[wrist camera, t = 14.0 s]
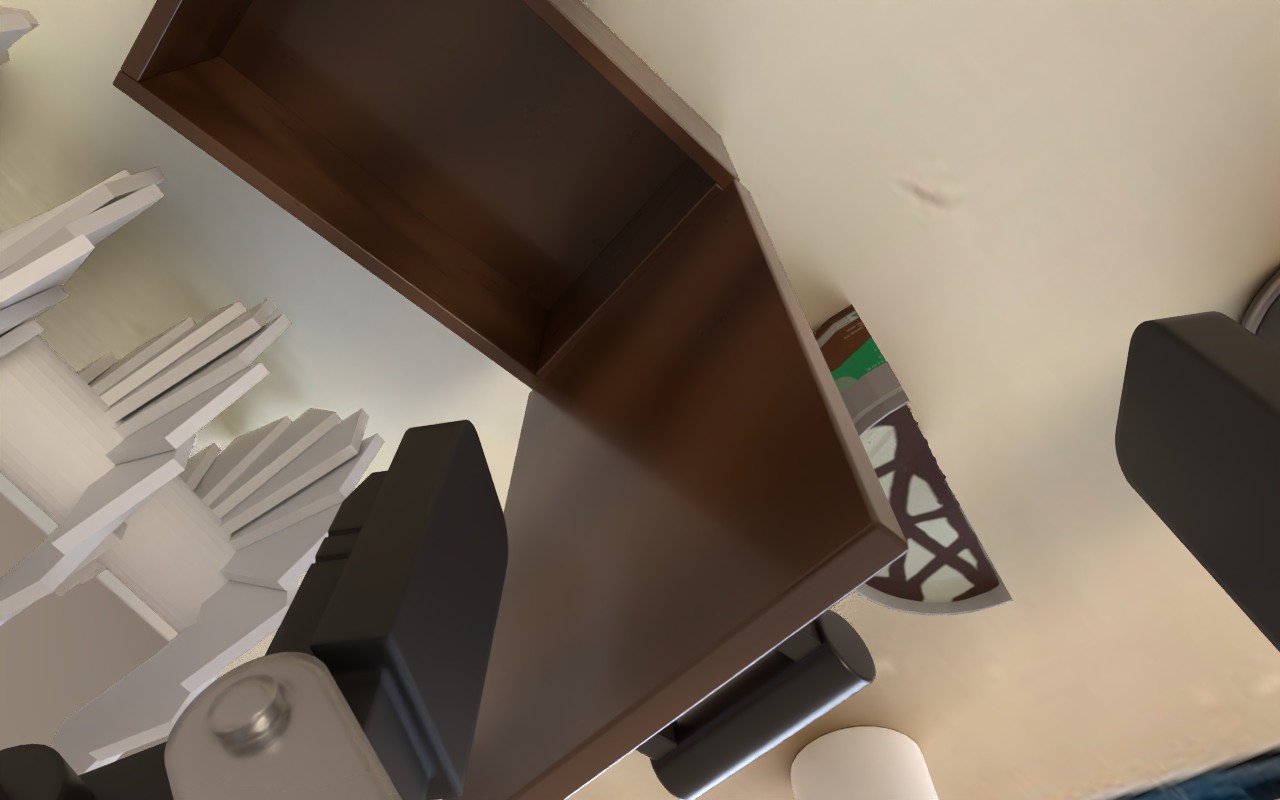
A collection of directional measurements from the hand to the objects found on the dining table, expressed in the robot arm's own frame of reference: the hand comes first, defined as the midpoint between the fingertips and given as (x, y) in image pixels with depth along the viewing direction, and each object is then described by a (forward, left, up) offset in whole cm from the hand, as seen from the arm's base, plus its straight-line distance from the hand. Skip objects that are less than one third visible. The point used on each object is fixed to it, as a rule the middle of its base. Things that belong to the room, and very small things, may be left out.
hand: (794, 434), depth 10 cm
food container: (+6, +16, -26) cm, 31 cm away
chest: (+6, -6, -26) cm, 27 cm away
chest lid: (+6, +2, -9) cm, 11 cm away
